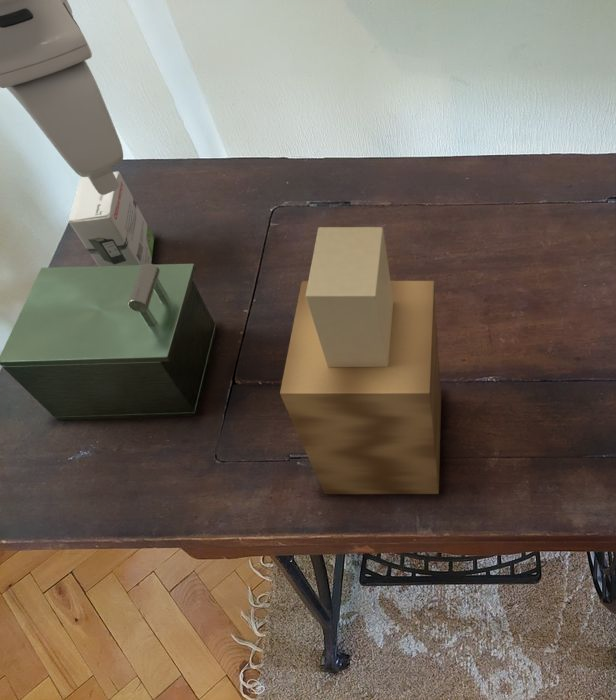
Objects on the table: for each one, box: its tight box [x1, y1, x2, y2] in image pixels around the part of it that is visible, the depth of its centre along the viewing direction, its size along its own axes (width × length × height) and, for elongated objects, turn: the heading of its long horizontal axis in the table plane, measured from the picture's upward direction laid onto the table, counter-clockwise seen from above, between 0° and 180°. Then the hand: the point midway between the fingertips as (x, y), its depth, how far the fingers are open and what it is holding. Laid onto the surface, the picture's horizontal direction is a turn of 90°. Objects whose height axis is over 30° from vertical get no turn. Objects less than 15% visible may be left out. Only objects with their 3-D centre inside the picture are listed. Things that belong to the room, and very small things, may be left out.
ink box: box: [68, 170, 155, 266], centre depth 83 cm, size 9×5×12 cm, turn 10°
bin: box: [1, 279, 218, 421], centre depth 73 cm, size 16×13×11 cm
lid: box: [0, 262, 197, 367], centre depth 66 cm, size 17×13×5 cm
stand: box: [279, 280, 442, 495], centre depth 63 cm, size 12×12×20 cm
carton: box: [306, 226, 393, 367], centre depth 52 cm, size 5×7×9 cm
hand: (87, 161), depth 58 cm, fingers open, 8 cm apart
